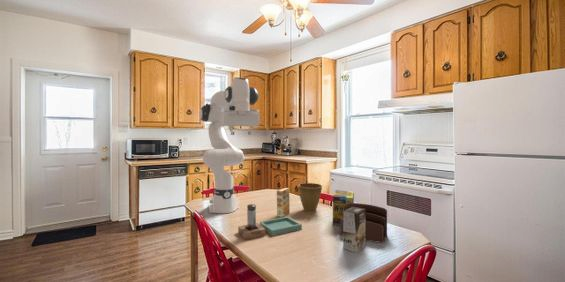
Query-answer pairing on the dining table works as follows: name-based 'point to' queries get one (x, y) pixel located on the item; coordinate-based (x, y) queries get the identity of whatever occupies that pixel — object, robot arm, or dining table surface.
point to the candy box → (283, 202)
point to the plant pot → (310, 195)
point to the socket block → (251, 231)
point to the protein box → (341, 204)
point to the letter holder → (372, 222)
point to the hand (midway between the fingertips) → (241, 134)
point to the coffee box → (354, 228)
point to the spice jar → (251, 216)
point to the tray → (280, 225)
